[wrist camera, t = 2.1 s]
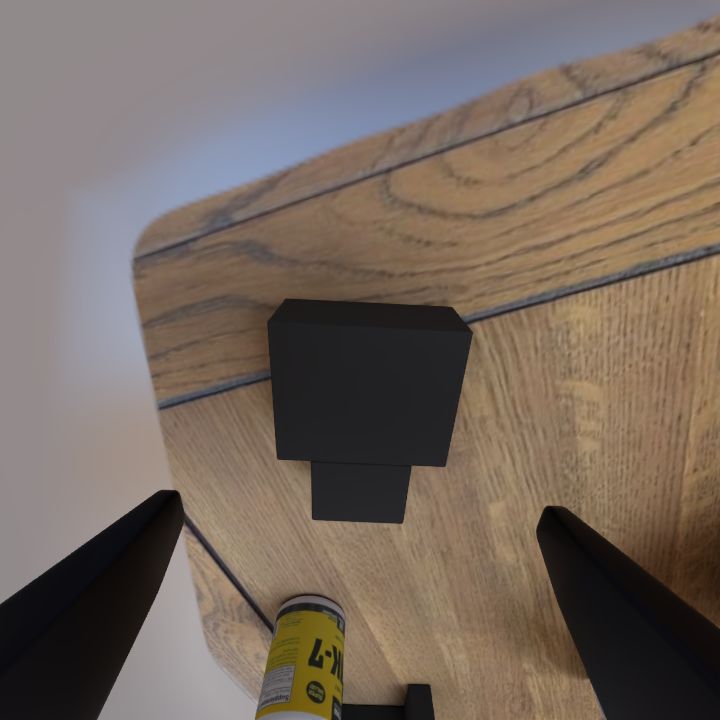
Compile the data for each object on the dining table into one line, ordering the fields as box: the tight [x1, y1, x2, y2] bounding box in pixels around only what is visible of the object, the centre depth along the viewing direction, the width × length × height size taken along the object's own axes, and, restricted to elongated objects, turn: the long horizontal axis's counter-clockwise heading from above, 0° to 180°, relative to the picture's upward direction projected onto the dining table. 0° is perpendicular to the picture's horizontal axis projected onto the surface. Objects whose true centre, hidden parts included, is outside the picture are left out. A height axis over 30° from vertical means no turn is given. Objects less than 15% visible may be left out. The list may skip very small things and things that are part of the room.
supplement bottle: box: [255, 596, 345, 720], centre depth 20 cm, size 5×5×8 cm
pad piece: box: [267, 299, 473, 524], centre depth 15 cm, size 7×10×3 cm
